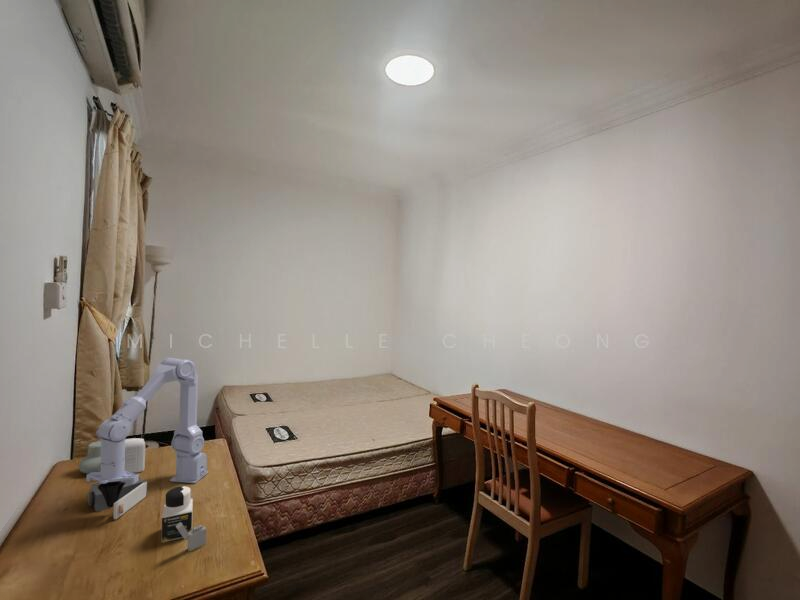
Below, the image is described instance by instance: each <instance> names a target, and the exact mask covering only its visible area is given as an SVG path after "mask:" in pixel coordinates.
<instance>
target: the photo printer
mask: <svg viewBox="0 0 800 600" xmlns="http://www.w3.org/2000/svg"><path fill="white" fill-rule="evenodd" d="M145 465H146V441H145V439H144V438H139V437H138V438H136V437H133V438H125V471H126V472H129V473H134V472H136V473H137V474H138V473H140V472H144V471H145V470H146V469H145V468H146V467H145Z"/></svg>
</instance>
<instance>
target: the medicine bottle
mask: <svg viewBox="0 0 800 600" xmlns="http://www.w3.org/2000/svg"><path fill="white" fill-rule="evenodd" d="M193 509H194V499H193V498H192V497H191V487H189V486H185V485H183V486H182V485H181V486H177V487H172V488H171V489H169V490H168V491H167V492H166V493H165V503H164V505H163V510H162V515H161V543H166V542H170V541H176V540H179V539H184V538H183V537H182V535H181V534H180V532H179V531H178V529H177V528H176V525H177V524H179V523H180V522H181V523H182V524H183V526H184V527H185V529H186V530H187V532H190V531H193V517H194V515H193Z"/></svg>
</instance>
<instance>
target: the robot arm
mask: <svg viewBox="0 0 800 600" xmlns="http://www.w3.org/2000/svg"><path fill="white" fill-rule="evenodd" d="M155 368H156V369H155V371H154V373H153V374H152V375H151V377H150V378H149V380H148V381H147V382H146V383H145V384H144V386H142V388H141V389H140V391H139V392H138V393H137V394H136V396H133V397H132V396H131V397H129V398H128V399H125V400H124V401H123V402H122V405H121V406H120V407H119V408H118V410H116V412H114V414H112V415H111V416H110V418H108V419H107V420H104V421H103V422H102V423H101V424H99V427H98V429H97V430H96V432H95V434H96V436H97V437H98V438H99V439H100V441H101V472H91V473H90V474H86V479H85V480H86V482H89V483H90V482H95V481H96V482H99V483H100V485H99V486H98V489H99V490H100V491H101V493H102V494H103V496H104V498H105V501H106V504H107V507H110V508H114V503H115V502H117V501H118V498H119V495H120V492H121V490H122V488H123V486H124V484H125V483H126V482H129V483H131V484H134V483H136V482H137V481H139V477H140V474H138V473H137V474H133V473H129V472H126V471H125V439H126V438H127V437H128V436H129V435H130V434H131V428H132V426H133V424H134V422H136V420H137V419H138V418H139V417H140V416H141V414H142V413H143V412H144V411H145V410H146V409H147V402H148V401H149V400H150V399H151V398H152V397H153V396H154V395H155V394H156V393H157V392H158V391H159V390H160V388H161V387H162V386H163V385H165V384H166V383H170V382H175V381H177V382H179V384H180V388H179V389H180V390H179V392H180V393H179V421H178V422H179V424H178V427H177V428H176V429H175V430H174V432H173V438H172V440H171V443H170V444H171V448H172V449H173V450H174V452H175V475H174V476H173V477H172V478H171V479H169V482H172V483H173V482H175V483H187V484H196V483H197V482H198V481H200V480H201V479H202V478H203V477H205V476H206V475H207V474H208V473H209V472H208V456H207V454H206V453H204V452H201V451H202V450H203V448H204V445H205V439H204V437H203V430H202V429H201V428H200V427H199V426H198V425H197V424H198V423H197V422H198V395H199V390H198V389H199V376H198V372H197V371H196V370H197V369H196V363H195V362H193V361H192V360H190V359H183V358H173V357H166V358H163V359H162V360H161V362H160V363H159V364H158V365H156V367H155Z"/></svg>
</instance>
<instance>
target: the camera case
mask: <svg viewBox="0 0 800 600" xmlns="http://www.w3.org/2000/svg"><path fill="white" fill-rule="evenodd" d="M133 474H138V472H137V473H136V472H134V473H133ZM142 483H144V481H143V479H142V478H141V477H140V476H139V481H137V482H136V483H134V484H131V483H129V482H126V483H125V484H124V486H123V488H122V490H121V492H120V495H119V498H118V500H119V499H121V498H122V497H124V496H125V495H126V494H128V493H129V492H131V491H132V490H134V489H135V488H136V487H138V486H139V485H141V484H142ZM99 485H100V483H99V481H97V482H94V483H91V484H90V490H89V492H88V493H87V502H88V503H87V504H88V506H89V507H91V506H92V507H93V509H94V511H95V512H96V513H97V512H100V511H103V510H107V509H109V508H111V507H107V504H106V501H105V498H104V496H103V494H102V493H101V491H100V490H99V489H98V486H99Z"/></svg>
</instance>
